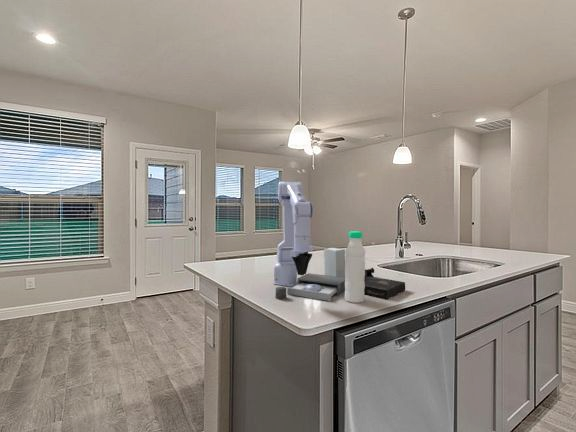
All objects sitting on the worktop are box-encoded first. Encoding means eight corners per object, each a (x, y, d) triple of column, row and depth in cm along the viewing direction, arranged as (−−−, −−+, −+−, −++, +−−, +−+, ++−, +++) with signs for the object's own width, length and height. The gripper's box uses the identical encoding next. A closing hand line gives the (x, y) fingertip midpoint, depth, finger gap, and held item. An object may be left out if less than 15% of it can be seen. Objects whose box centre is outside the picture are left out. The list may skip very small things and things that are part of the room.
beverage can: (374, 285, 142) (351, 281, 151) (375, 267, 143) (352, 265, 152) (363, 284, 136) (340, 281, 144) (365, 266, 137) (341, 264, 145)
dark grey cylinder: (273, 298, 117) (273, 288, 117) (278, 295, 120) (278, 286, 120) (283, 299, 115) (283, 290, 115) (288, 297, 118) (288, 287, 118)
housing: (297, 289, 130) (297, 278, 129) (308, 283, 139) (308, 273, 139) (339, 295, 121) (339, 283, 121) (348, 288, 131) (348, 278, 131)
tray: (287, 294, 122) (287, 287, 122) (299, 287, 131) (299, 281, 131) (330, 301, 113) (330, 294, 113) (340, 293, 123) (340, 287, 123)
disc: (303, 291, 120) (303, 286, 120) (309, 288, 125) (309, 283, 125) (316, 293, 118) (317, 288, 118) (322, 289, 123) (322, 285, 123)
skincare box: (346, 282, 141) (346, 249, 140) (335, 284, 137) (336, 250, 137) (333, 278, 148) (333, 247, 147) (323, 280, 144) (323, 248, 144)
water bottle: (342, 297, 118) (343, 230, 117) (360, 297, 119) (362, 230, 118) (347, 303, 111) (348, 232, 110) (367, 303, 112) (368, 232, 111)
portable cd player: (405, 291, 129) (405, 281, 128) (386, 301, 116) (387, 290, 116) (368, 284, 140) (368, 275, 139) (347, 292, 127) (347, 282, 127)
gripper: (303, 238, 103) (303, 280, 104) (320, 234, 116) (320, 271, 117) (284, 237, 107) (284, 277, 107) (303, 233, 119) (302, 269, 120)
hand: (301, 274), depth 112 cm, fingers closed
